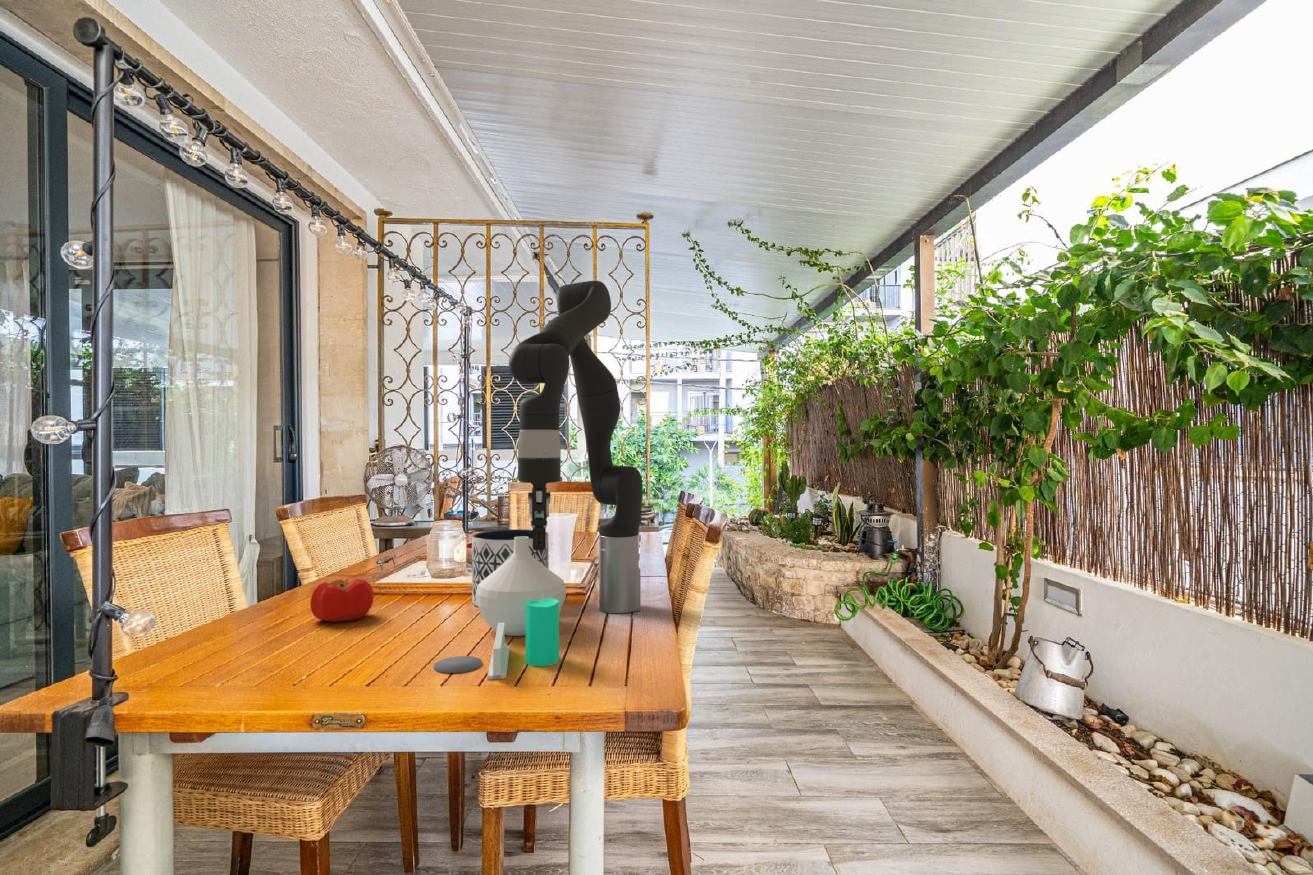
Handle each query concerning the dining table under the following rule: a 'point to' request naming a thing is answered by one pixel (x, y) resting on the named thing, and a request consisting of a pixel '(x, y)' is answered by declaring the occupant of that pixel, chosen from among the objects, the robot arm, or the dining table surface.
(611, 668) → the dining table surface
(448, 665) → the coaster
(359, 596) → the tomato
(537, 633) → the candle
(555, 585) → the vase
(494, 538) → the planter
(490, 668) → the divider wall
